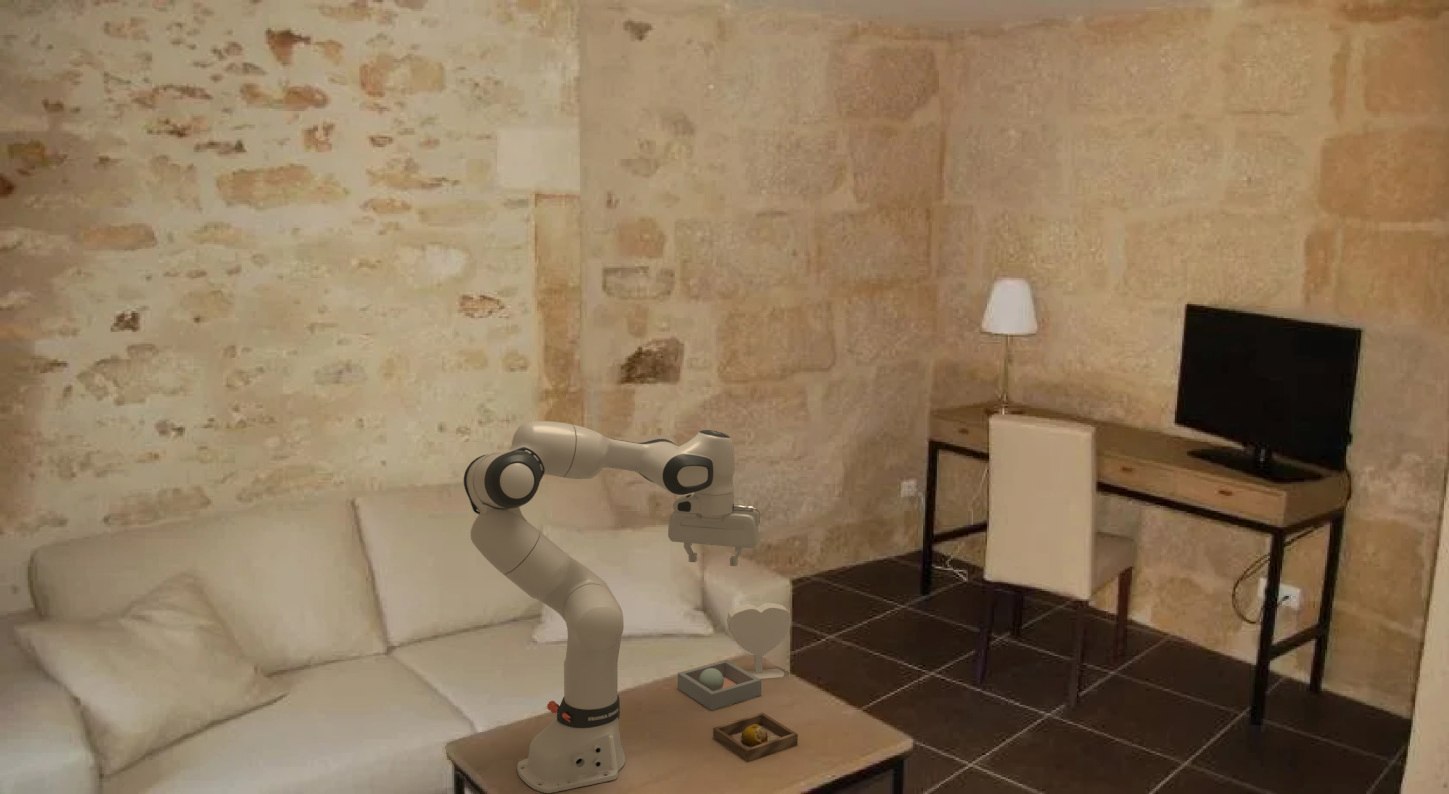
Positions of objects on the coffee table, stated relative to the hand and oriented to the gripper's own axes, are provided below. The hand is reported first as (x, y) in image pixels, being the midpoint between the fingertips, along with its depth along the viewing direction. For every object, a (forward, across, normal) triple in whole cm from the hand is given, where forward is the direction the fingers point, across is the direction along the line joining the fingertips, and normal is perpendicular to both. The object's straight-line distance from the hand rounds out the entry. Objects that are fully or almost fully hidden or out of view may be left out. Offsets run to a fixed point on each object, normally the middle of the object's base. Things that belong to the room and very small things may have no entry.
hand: (713, 563), depth 249 cm
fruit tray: (+37, -12, +8) cm, 40 cm away
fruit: (+38, -14, +8) cm, 41 cm away
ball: (+34, +3, -13) cm, 36 cm away
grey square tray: (+37, +2, -15) cm, 40 cm away
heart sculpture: (+37, -5, -27) cm, 47 cm away
